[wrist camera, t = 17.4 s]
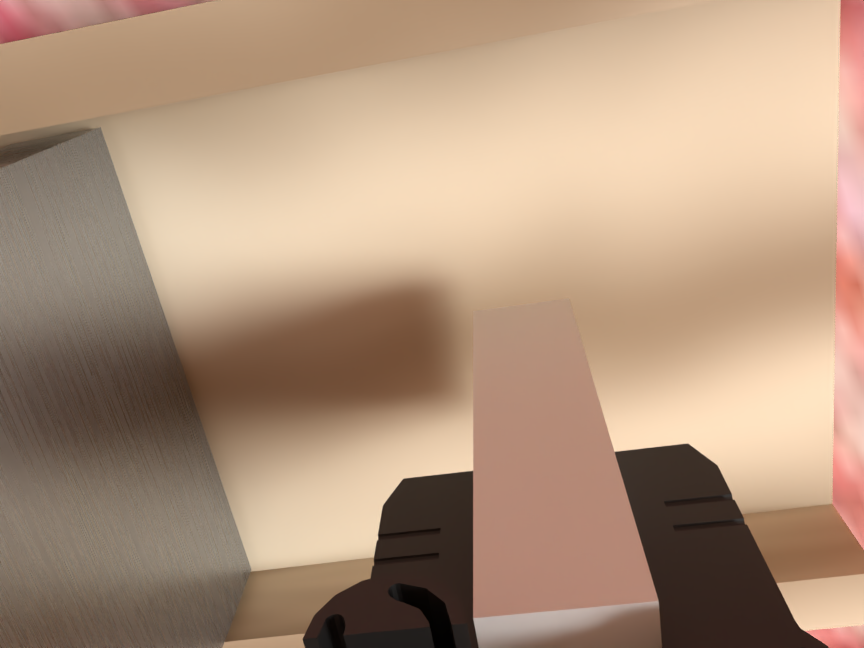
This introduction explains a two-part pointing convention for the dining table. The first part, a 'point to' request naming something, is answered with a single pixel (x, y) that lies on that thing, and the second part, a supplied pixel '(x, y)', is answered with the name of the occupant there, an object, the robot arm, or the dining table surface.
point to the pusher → (98, 426)
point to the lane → (474, 246)
